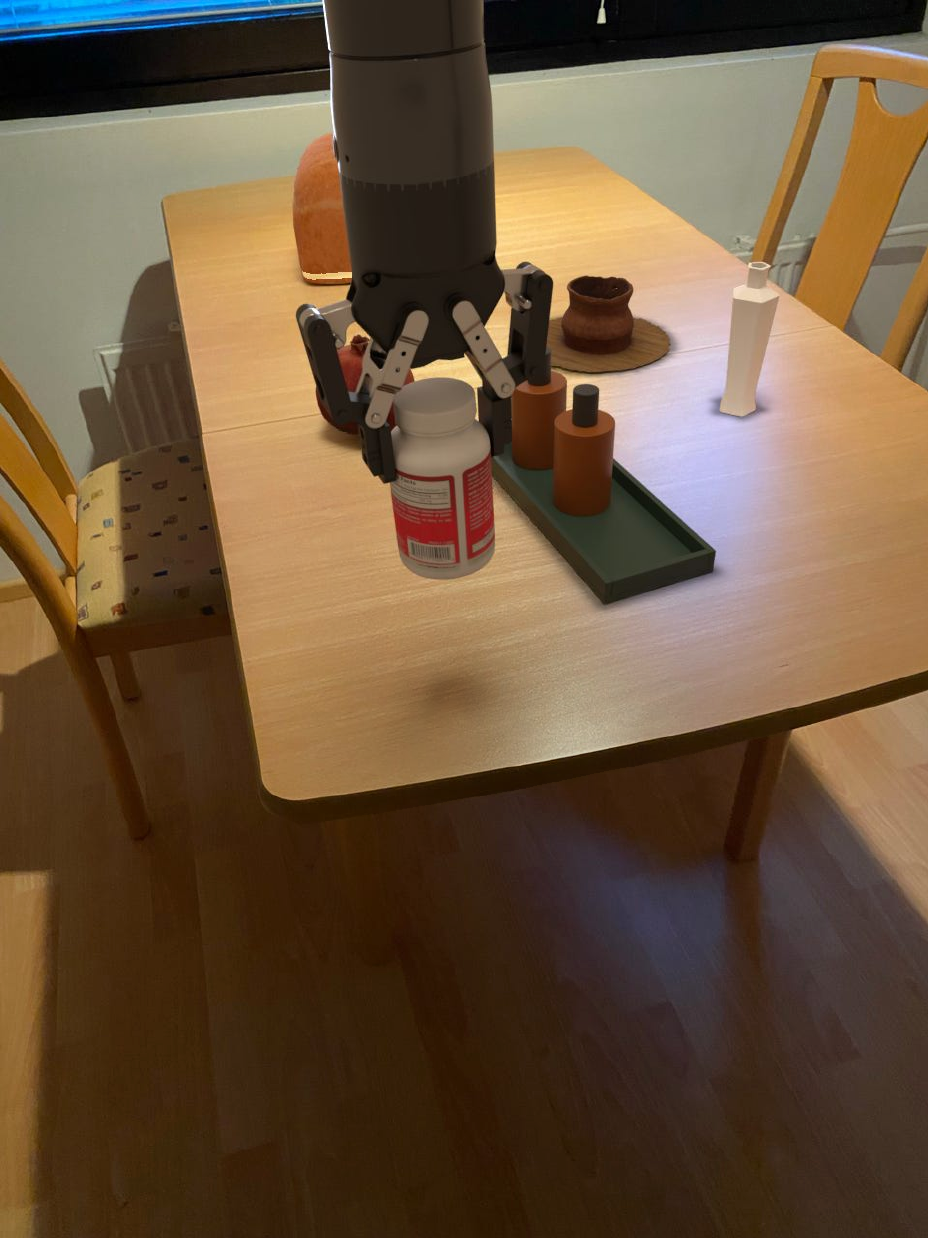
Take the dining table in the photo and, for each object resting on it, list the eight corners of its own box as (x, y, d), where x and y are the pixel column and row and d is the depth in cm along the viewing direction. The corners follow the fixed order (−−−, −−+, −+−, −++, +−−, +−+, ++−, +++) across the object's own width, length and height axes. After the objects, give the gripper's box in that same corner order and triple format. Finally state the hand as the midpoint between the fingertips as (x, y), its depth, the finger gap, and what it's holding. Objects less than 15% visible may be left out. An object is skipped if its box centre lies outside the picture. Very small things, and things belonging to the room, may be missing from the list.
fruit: (304, 427, 100) (289, 337, 93) (381, 399, 104) (372, 311, 98) (357, 465, 93) (344, 371, 87) (437, 433, 97) (431, 341, 91)
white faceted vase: (765, 403, 99) (790, 261, 90) (751, 420, 97) (775, 275, 87) (723, 394, 101) (744, 254, 92) (708, 410, 99) (728, 268, 89)
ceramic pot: (627, 305, 122) (631, 251, 118) (698, 356, 109) (706, 296, 105) (500, 329, 118) (499, 273, 114) (559, 385, 105) (560, 324, 101)
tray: (563, 431, 97) (563, 412, 95) (713, 571, 77) (716, 550, 76) (472, 453, 94) (472, 434, 93) (604, 604, 74) (605, 583, 73)
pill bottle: (475, 519, 62) (467, 363, 55) (510, 568, 58) (505, 405, 51) (387, 541, 61) (366, 383, 54) (415, 593, 56) (397, 429, 49)
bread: (299, 288, 133) (281, 168, 123) (309, 231, 153) (294, 125, 143) (395, 281, 133) (385, 162, 123) (393, 226, 153) (384, 120, 143)
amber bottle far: (550, 439, 94) (552, 334, 87) (574, 462, 90) (578, 355, 83) (503, 451, 93) (501, 345, 86) (525, 475, 89) (525, 366, 82)
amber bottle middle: (592, 481, 88) (598, 371, 81) (620, 507, 84) (629, 395, 77) (543, 494, 86) (544, 383, 79) (569, 521, 82) (573, 408, 75)
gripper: (288, 198, 40) (341, 525, 50) (586, 149, 44) (577, 463, 54) (251, 161, 45) (306, 463, 56) (518, 121, 49) (522, 411, 60)
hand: (439, 462), depth 55 cm, fingers closed on pill bottle, 6 cm apart
